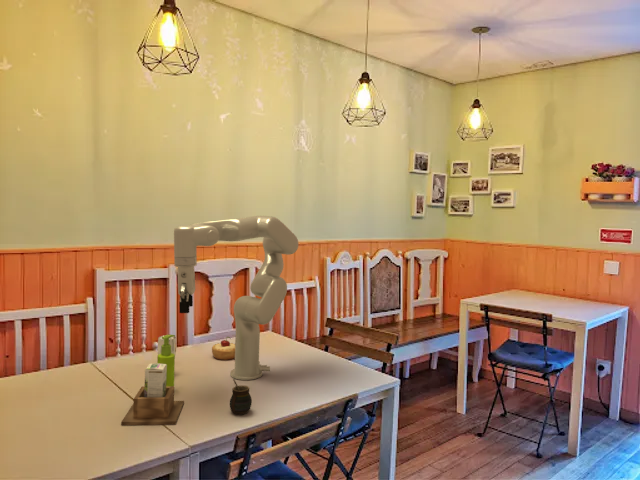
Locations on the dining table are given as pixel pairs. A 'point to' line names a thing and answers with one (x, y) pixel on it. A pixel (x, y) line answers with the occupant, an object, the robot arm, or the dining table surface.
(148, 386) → the syrup box
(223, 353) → the pastry
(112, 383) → the dining table surface
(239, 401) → the mate gourd
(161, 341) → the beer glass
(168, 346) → the soap dispenser
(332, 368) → the dining table surface
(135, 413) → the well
